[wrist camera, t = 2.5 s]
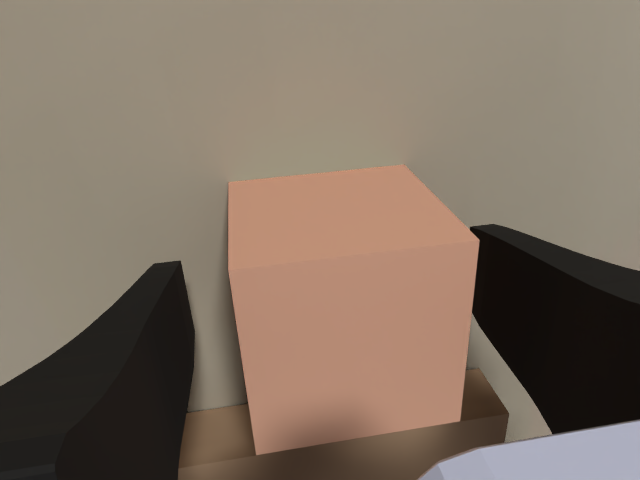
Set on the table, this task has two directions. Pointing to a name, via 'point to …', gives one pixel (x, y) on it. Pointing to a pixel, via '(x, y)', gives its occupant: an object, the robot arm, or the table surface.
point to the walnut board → (338, 445)
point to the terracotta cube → (348, 304)
